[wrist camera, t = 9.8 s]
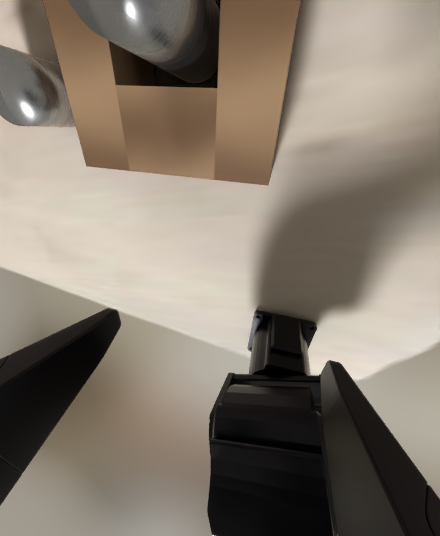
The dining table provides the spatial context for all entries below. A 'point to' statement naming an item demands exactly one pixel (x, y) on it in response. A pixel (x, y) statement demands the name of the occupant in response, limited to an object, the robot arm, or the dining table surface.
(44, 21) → the dining table surface
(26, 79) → the short pin
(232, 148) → the hole block
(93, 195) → the dining table surface
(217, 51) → the tall pin
